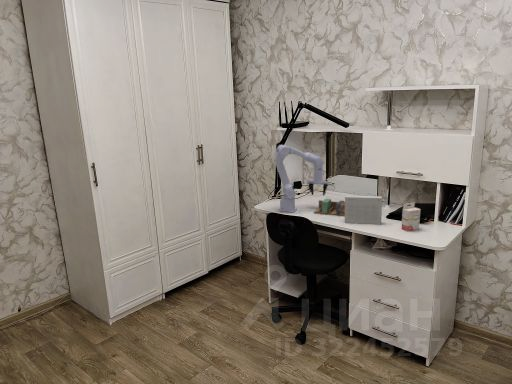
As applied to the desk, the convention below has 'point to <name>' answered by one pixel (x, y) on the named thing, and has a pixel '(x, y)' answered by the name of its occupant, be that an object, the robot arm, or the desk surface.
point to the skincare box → (363, 209)
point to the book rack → (333, 208)
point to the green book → (326, 205)
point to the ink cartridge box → (410, 217)
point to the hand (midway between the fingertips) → (318, 194)
